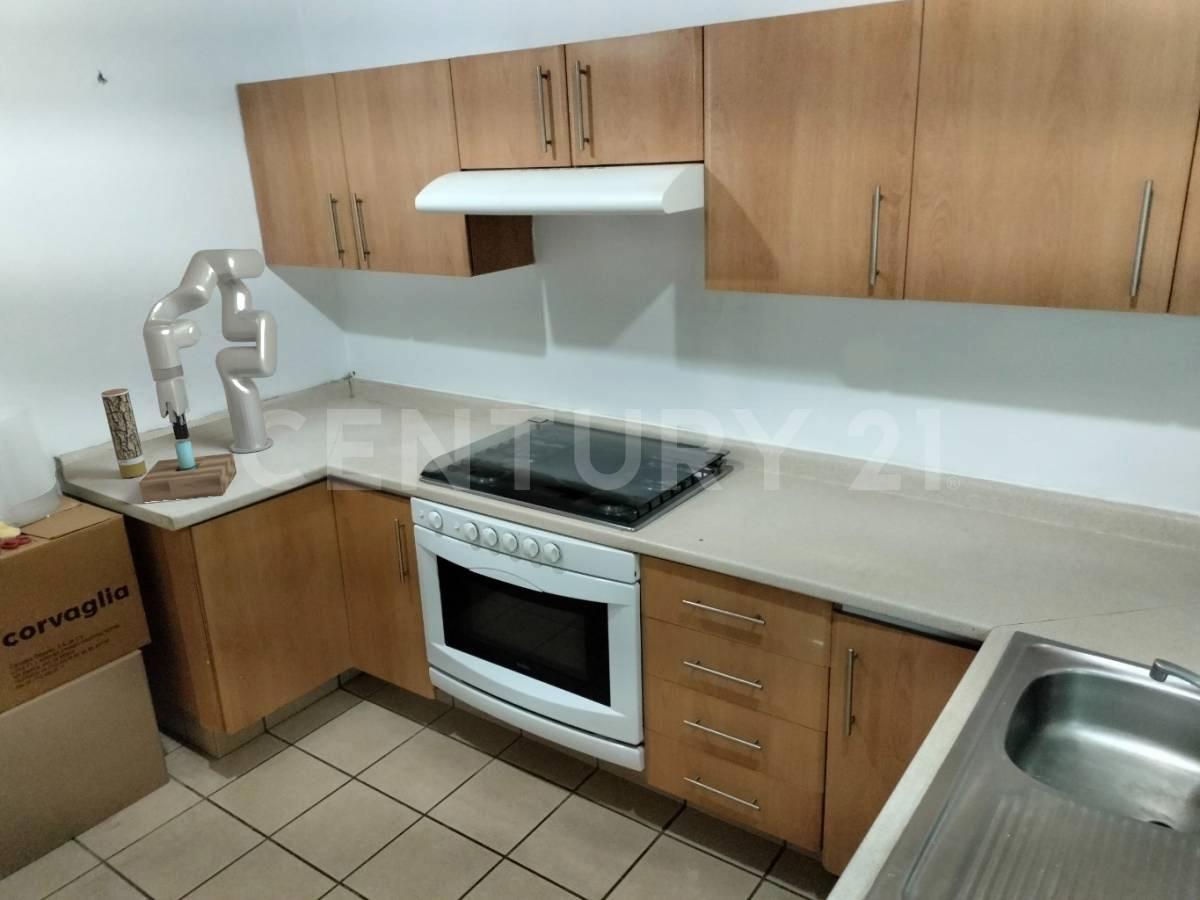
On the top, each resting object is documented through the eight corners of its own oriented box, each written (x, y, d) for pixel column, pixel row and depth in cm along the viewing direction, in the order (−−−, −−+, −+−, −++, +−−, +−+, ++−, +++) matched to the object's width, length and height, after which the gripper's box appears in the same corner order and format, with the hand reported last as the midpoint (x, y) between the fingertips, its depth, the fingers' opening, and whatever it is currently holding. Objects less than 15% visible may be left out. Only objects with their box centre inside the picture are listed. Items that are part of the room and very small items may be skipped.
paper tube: (136, 479, 257) (116, 394, 249) (115, 478, 259) (95, 394, 251) (152, 471, 264) (133, 388, 256) (131, 470, 265) (112, 388, 257)
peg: (185, 482, 250) (176, 441, 246) (201, 481, 250) (192, 439, 246) (181, 487, 246) (172, 446, 242) (197, 486, 246) (188, 444, 242)
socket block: (163, 480, 255) (158, 460, 253) (236, 472, 258) (232, 453, 256) (143, 503, 238) (139, 482, 236) (223, 495, 241) (218, 474, 239)
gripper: (160, 367, 244) (175, 431, 251) (144, 381, 230) (160, 449, 237) (189, 364, 245) (203, 428, 252) (175, 378, 231) (190, 445, 238)
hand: (182, 438), depth 244 cm, fingers closed
